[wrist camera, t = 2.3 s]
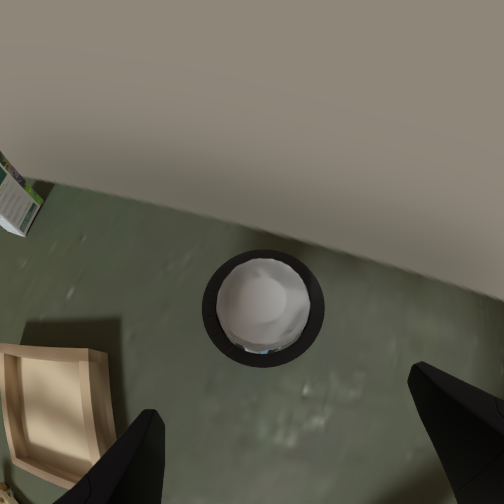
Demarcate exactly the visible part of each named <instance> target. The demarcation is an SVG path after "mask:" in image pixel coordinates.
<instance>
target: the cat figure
mask: <svg viewBox="0 0 504 504" xmlns="http://www.w3.org/2000/svg"><path fill="white" fill-rule="evenodd" d="M8 493H10V489H9V488H8V487H7V486H6V485H5V483H4V482H0V504H19V503H18V502H17V501H16V500H15V498H13V497H11V496H10V497H9V495H8Z"/></svg>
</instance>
